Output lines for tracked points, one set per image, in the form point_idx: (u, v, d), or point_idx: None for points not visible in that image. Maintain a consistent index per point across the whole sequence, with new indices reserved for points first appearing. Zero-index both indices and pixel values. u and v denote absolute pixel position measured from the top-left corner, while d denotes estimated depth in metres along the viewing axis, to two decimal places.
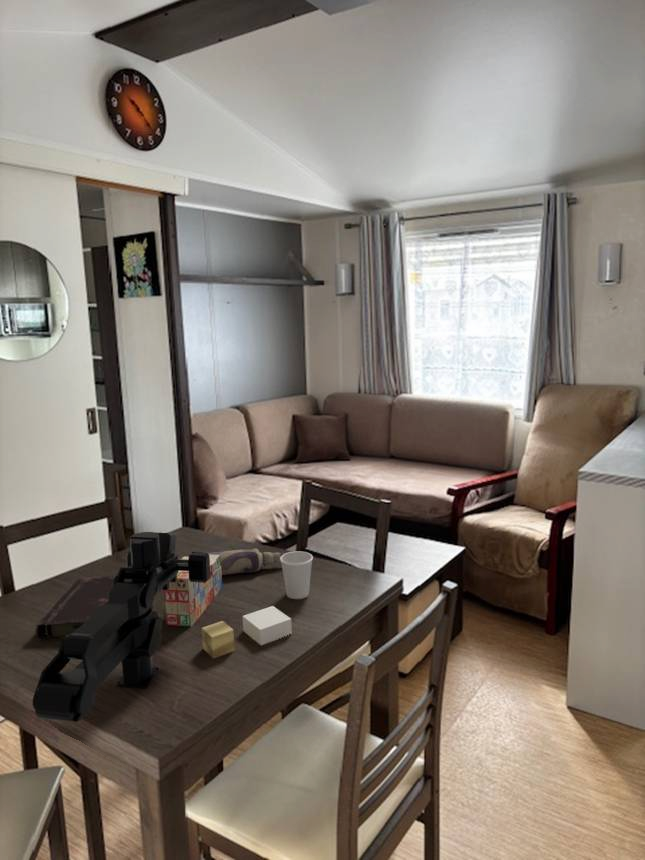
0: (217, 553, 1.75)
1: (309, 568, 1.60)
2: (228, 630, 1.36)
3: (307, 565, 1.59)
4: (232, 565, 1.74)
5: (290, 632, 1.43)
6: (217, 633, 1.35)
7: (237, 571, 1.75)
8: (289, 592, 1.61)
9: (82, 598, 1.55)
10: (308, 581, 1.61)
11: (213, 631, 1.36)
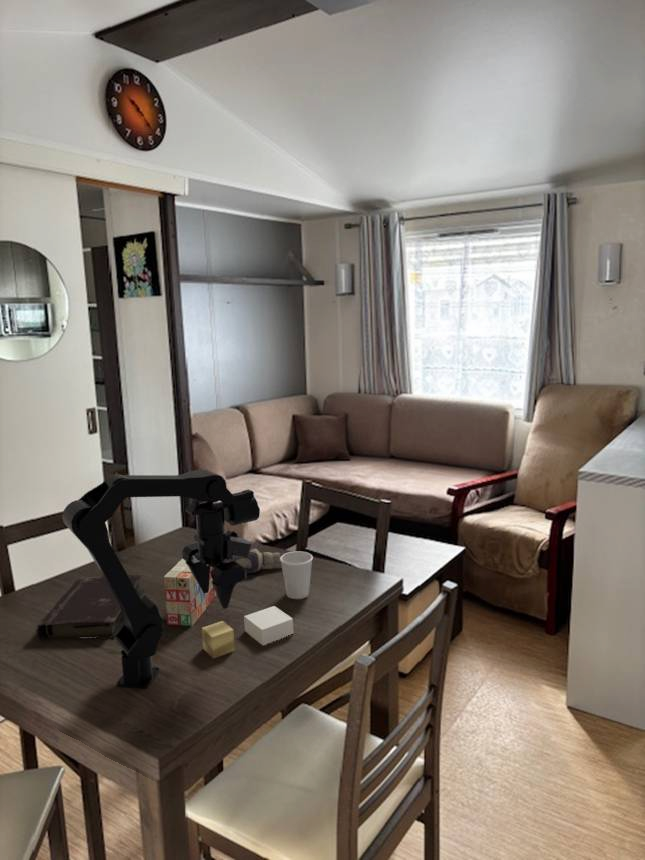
0: None
1: (309, 568, 1.60)
2: (228, 630, 1.36)
3: (307, 565, 1.59)
4: None
5: (292, 632, 1.43)
6: (217, 633, 1.35)
7: None
8: (289, 592, 1.61)
9: (82, 598, 1.55)
10: (308, 581, 1.61)
11: (213, 631, 1.36)
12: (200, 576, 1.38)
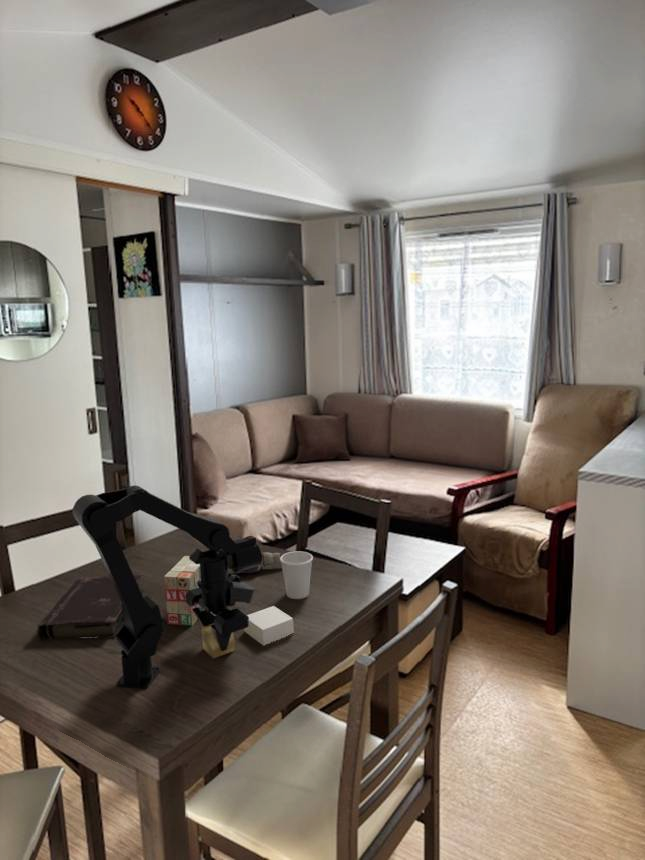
0: None
1: (309, 568, 1.60)
2: None
3: (307, 565, 1.59)
4: None
5: (292, 632, 1.43)
6: None
7: None
8: (289, 592, 1.61)
9: (82, 598, 1.55)
10: (308, 581, 1.61)
11: None
12: (207, 624, 1.38)
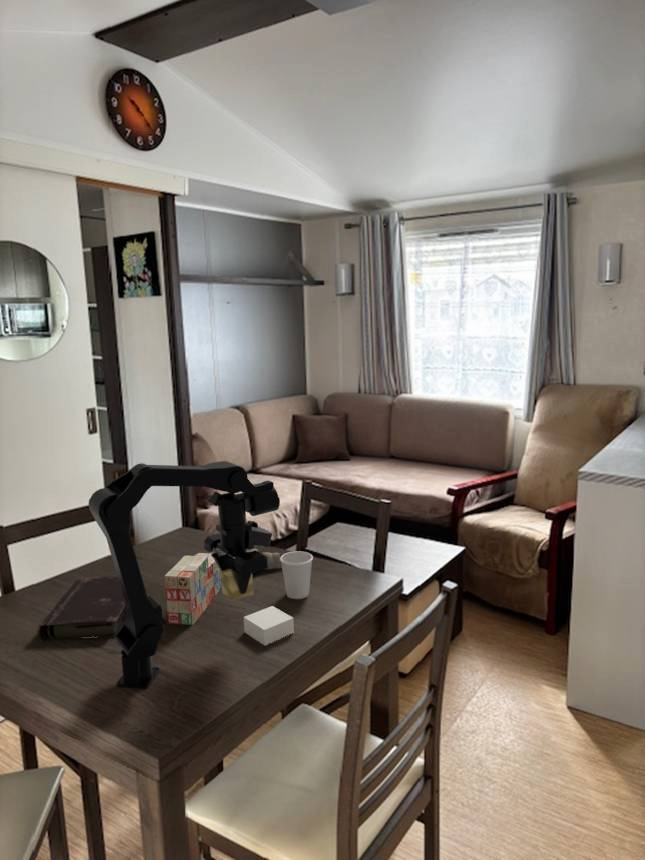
0: None
1: (309, 568, 1.60)
2: None
3: (307, 565, 1.59)
4: None
5: (292, 631, 1.44)
6: None
7: None
8: (289, 592, 1.61)
9: (82, 598, 1.55)
10: (308, 581, 1.61)
11: (232, 574, 1.36)
12: (226, 568, 1.39)
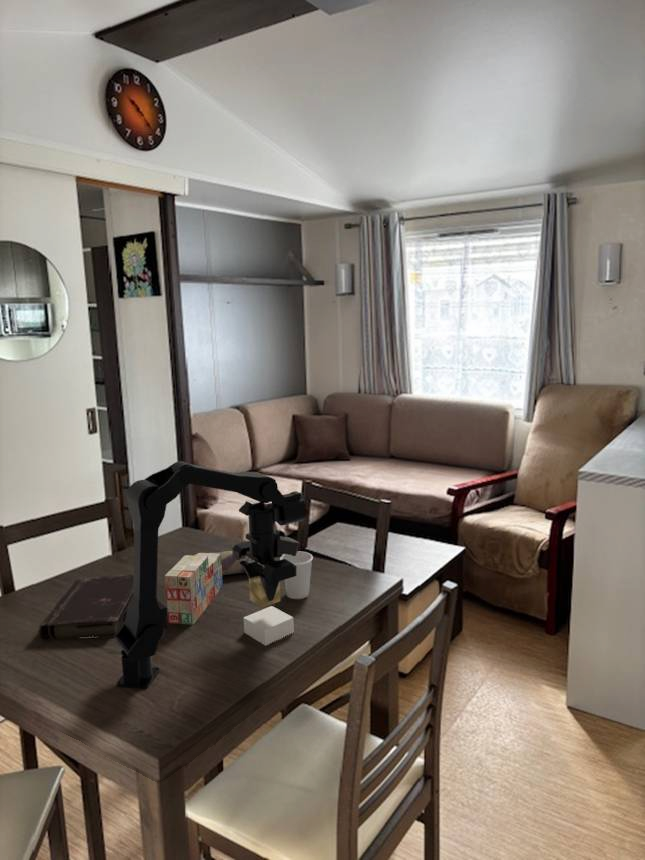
0: (216, 553, 1.75)
1: (309, 568, 1.60)
2: None
3: (307, 565, 1.59)
4: (231, 565, 1.73)
5: (292, 631, 1.44)
6: None
7: (236, 571, 1.75)
8: (289, 592, 1.61)
9: (82, 598, 1.55)
10: (308, 581, 1.61)
11: (260, 581, 1.41)
12: (254, 576, 1.44)
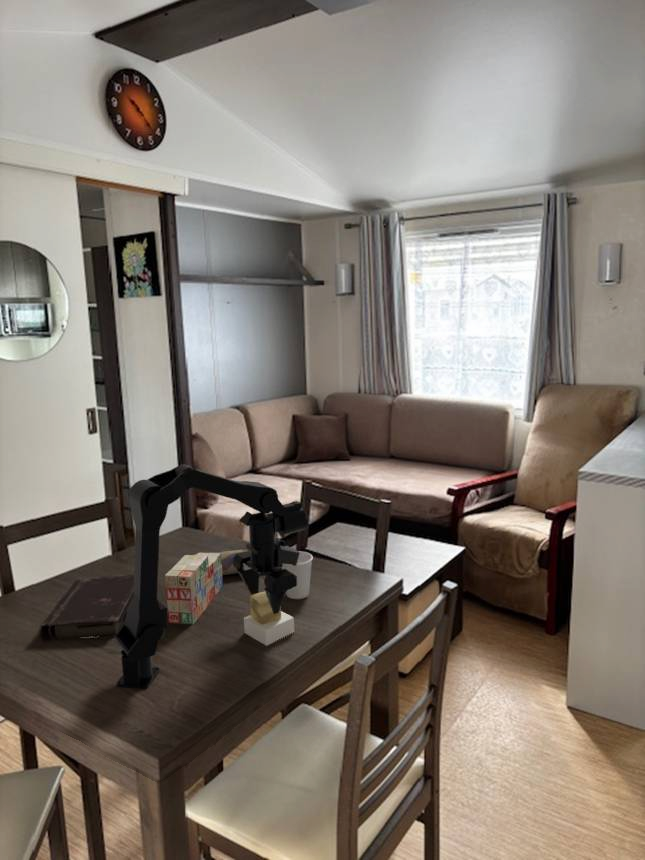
0: None
1: (309, 568, 1.60)
2: None
3: (307, 565, 1.59)
4: (231, 565, 1.73)
5: (293, 631, 1.44)
6: (266, 600, 1.41)
7: (236, 571, 1.75)
8: (289, 592, 1.61)
9: (82, 598, 1.55)
10: (308, 581, 1.61)
11: (261, 598, 1.42)
12: (250, 583, 1.46)
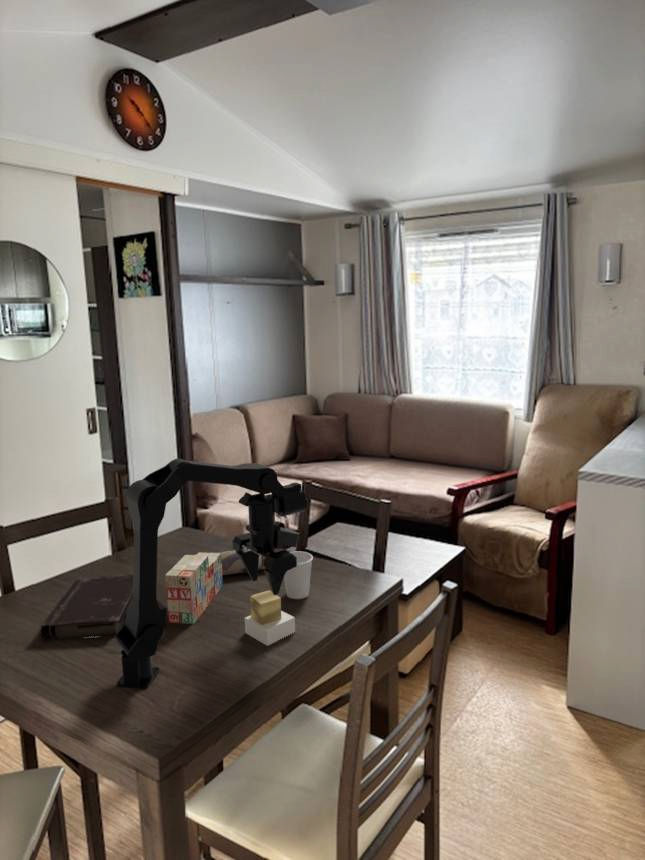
0: None
1: (309, 568, 1.60)
2: (276, 598, 1.42)
3: (307, 565, 1.59)
4: (231, 565, 1.73)
5: (294, 631, 1.44)
6: (266, 600, 1.41)
7: (236, 571, 1.75)
8: (289, 592, 1.61)
9: (82, 598, 1.55)
10: (308, 581, 1.61)
11: (261, 599, 1.42)
12: (250, 565, 1.45)
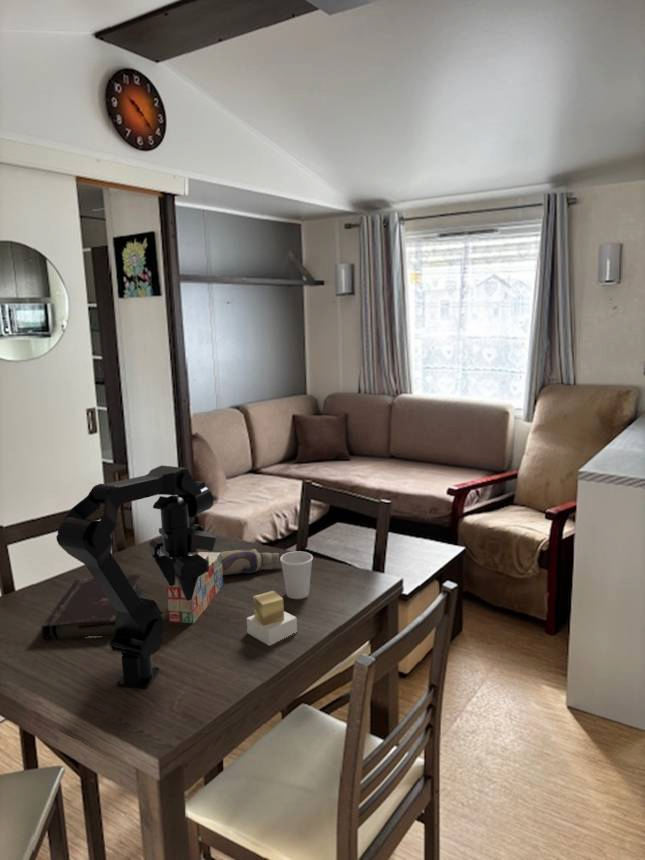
0: None
1: (309, 568, 1.60)
2: (278, 599, 1.41)
3: (307, 565, 1.59)
4: (230, 565, 1.73)
5: (296, 631, 1.44)
6: (268, 601, 1.41)
7: (235, 571, 1.74)
8: (289, 592, 1.61)
9: (83, 598, 1.55)
10: (308, 581, 1.61)
11: (263, 599, 1.41)
12: (166, 569, 1.41)
